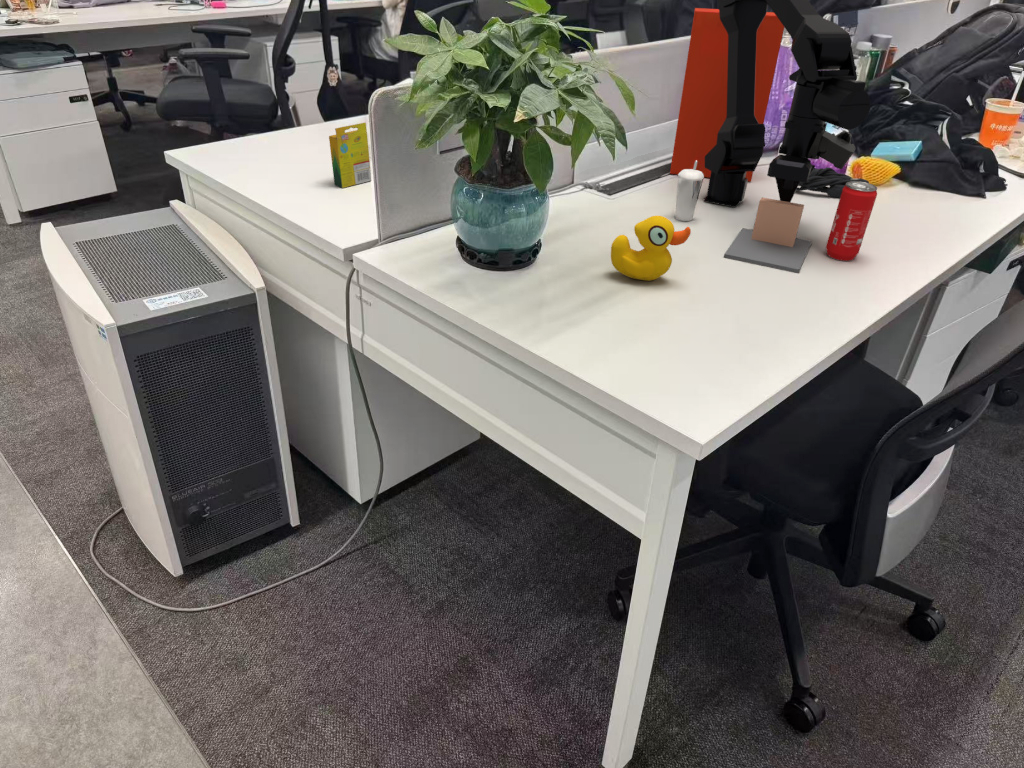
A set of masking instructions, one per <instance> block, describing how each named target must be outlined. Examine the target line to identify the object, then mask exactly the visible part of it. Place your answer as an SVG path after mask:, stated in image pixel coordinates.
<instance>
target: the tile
mask: <svg viewBox="0 0 1024 768" xmlns="http://www.w3.org/2000/svg"><path fill="white" fill-rule="evenodd" d="M804 207H805V204H801V203H795V202H792V201H791V202H786V201H780V199H774V198H767V197H764V196H763V197H760V199H759V203H758V208H757V212H756V218H755V221H754V226H753V229H752V230H753V233H752V238H751V239H754V240H759V241H764V242H769V243H774V244H779V245H784V246H789V247H793V245H794V243H795V239H796V238H797V234H798V231H799V226H800V223H801V220H802V216H803V212H804Z"/></svg>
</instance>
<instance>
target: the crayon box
mask: <svg viewBox="0 0 1024 768" xmlns="http://www.w3.org/2000/svg"><path fill="white" fill-rule="evenodd" d="M350 129H355V130H351V131H348V130H350ZM334 130H335V134H332V135H329V136H328V141H329V148H330V156H331V157H330V158H331V164H332V165H331V167H332V174H333V182H334V186H336V187H339V188H341V189H345V188H348V187H351V186H355V185H359V184H363V183H367V182H372V173H371V162H370V161H371V160H370V152H369V139H368V132H367V123H366V121H365V122H360V123H356V124H352V125H351V124H350V125H346V126H340V127H336V128H334ZM346 131H347V132H346Z"/></svg>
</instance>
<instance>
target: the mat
mask: <svg viewBox="0 0 1024 768" xmlns="http://www.w3.org/2000/svg"><path fill="white" fill-rule="evenodd" d="M752 233H753V229H751V228H745V227H742V228H741V230H740V231H739V233H738V234H737V235H736V237H735V238H734V240H733V241H732V243H731V244H730V245H729V247H728V248H727V249H726V251H725V252H724V254H723V258H725V259H729V260H730V259H731V260H735V261H739V262H740V261H741V262H745V263H749V264H754V265H759V266H764V267H769V268H774V269H778V270H781V271H787V272H791V273H797V274H799V273H800V270H801V268H802V266H803V263H804V261H805V259H806V256H807V254H808V252H809V250H810V248H811V246H812V240H809V239H803V238H797V237H796V239H795V243H794V245H793V247H789V246H784V245H779V244H774V243H769V242H764V241H759V240H754V239H751V238H752Z"/></svg>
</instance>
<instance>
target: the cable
mask: <svg viewBox="0 0 1024 768" xmlns="http://www.w3.org/2000/svg"><path fill="white" fill-rule="evenodd" d="M852 181H857V182H865V183H869V184H870V182H869V180H867V179H864V178H853V177H851V176H849V175H848V174H844V173H841V172H840V173H839V172H837V171H836V170H835V169H834V168H832V167H829V166H828V167H825V168H816V167H814V169H813V171H812V173H811V175H810V176H809V178H808V180H807V182H800V183H799V185H798V187H797V189H796V191H797V192H799V191H812V192H817V193H823V194H824V193H825V194H827V196H828V197H830V198H833V199H834V198H835V199H840V197H841V193H842V190H843V188H844V187H845V186H846V183H847V182H852Z"/></svg>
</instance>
